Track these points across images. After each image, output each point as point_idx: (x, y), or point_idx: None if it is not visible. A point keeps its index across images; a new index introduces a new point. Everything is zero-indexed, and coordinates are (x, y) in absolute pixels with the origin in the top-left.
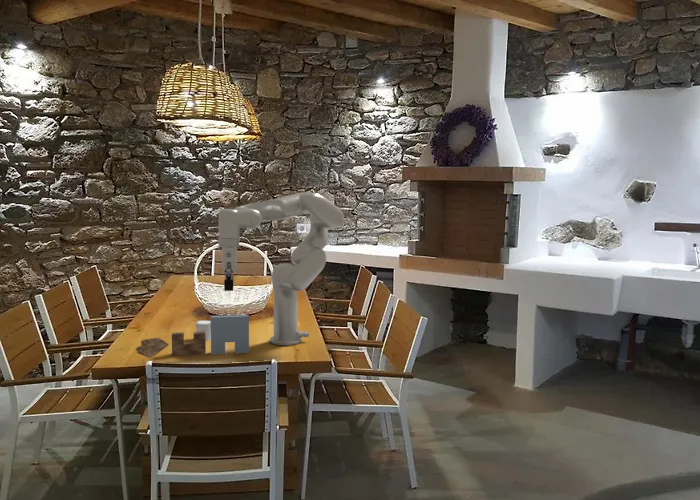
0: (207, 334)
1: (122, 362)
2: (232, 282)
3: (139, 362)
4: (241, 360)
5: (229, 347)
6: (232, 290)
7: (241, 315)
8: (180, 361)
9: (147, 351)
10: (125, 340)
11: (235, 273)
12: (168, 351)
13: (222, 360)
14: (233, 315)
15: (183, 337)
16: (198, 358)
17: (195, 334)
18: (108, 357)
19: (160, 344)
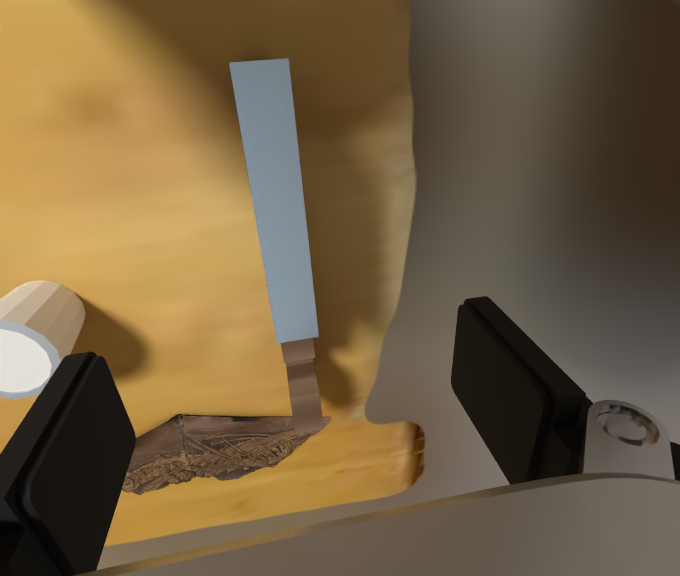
0: (66, 308)
1: (371, 464)
2: (549, 373)
3: (376, 429)
4: (398, 95)
5: (184, 174)
6: (484, 301)
7: (255, 131)
8: (380, 330)
9: (271, 444)
10: (138, 530)
11: (669, 480)
12: (260, 391)
13: (387, 184)
14: (259, 199)
15: (316, 382)
16: (351, 280)
17: (313, 348)
18: (322, 504)
19: (182, 435)
